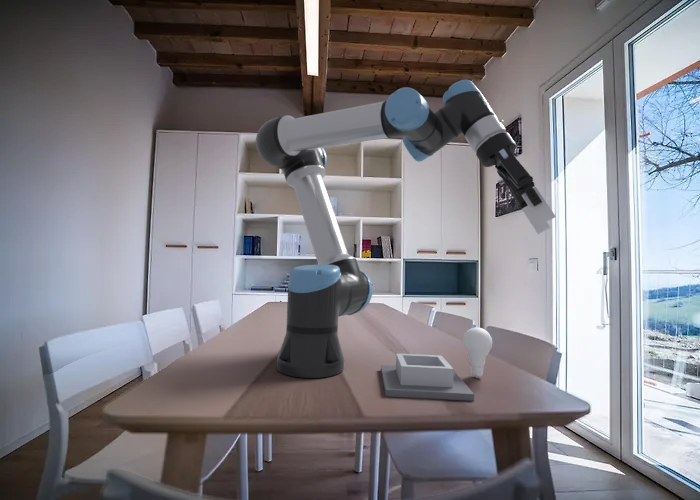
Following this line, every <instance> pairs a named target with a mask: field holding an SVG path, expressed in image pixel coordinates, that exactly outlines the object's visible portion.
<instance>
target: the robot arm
mask: <svg viewBox="0 0 700 500" xmlns="http://www.w3.org/2000/svg"><path fill="white" fill-rule="evenodd" d="M442 103H443V106H441V108H439V109H438V110H436V111H435V112H434V111H433V109H432V108H431V106H430V105H429V103H428V102H427V100H426V99H425V98H424V96H423V95H421V93H419V92H418V91H417V90H416V89H414V88H411V87H407V86H406V87H405V86H404V87H401V88H399V89H397V90H395V91H394V92H393V93H391V94H390V95H389V96H388V98H387V99H386V100H384V101H379V102H374V103H368V104H363V105H357V106H353V107H348V108H341V109H337V110H332V111H326V112H322V113H317V114H316V113H315V114H311V115H307V116H302V117H294V116H292V115H289V114H288V115H283V116H277V117H274V118H272V119H269V120H267V121H266V122H265V123H263V124H262V125H261V127H259V129H258V130H257V134H256V137H255V146H256V150H257V153H258V155H259V156H260V158H261V159H262V160H263V161H264V162H265V163H266V164H267V165H269V166H272V167H275V168H277V169H279V170H282V172H283V176H284V178H285V182H286V184H287V185H288V187H291V188H293V189H294V192H295V195H296V200H297V202H298V205H299V207H300V211H301V215H302V217H303V220H304V224H305V226H306V230H307V233H308V237H309V240H310V243H311V245H312V248H313V252H314V255H315V259H316V262H317V264H305V265H298V266H296V267H293V268H292V269H291V270H290V272H289V275H288V277H289V278H288V282H287V307H286V308H287V309H286V331H285V336H284V339H283V341H282V343H281V346H280V350H279V352H278V355H277V358H276V369H277V371H278V372H279V373H281V374H284V375H286V376H290V377H295V378H304V379H305V378H306V379H314V378H315V379H317V378H318V379H319V378H326V377H332V376H333V377H334V376H336V375H338V374H341V373H343V371H344V368H345V358H344V354H343V350H342V347H341V346H342V345H341V343H340V339H339V334H338V332H339V331H338V327H339V317H344V316H352V315H355V314H357V313H359V312H361V311H363V310H364V309H365V308H367V306H368V305H369V304H370V302H371V299H372V297H373V292H374V290H373V283H372V280H371V279H370V277H369V275H367V273H365V272H363V271H362V270H360V266H359V264H358V261H357V258H356V257H355V256H352V255H351V254H350V253H349V251H348V250H347V246H346V243H345V241H344V237H343V235H342V231H341V228H340V226H339V222H338V220H337V217H336V213H335V210H334V207H333V206H332V205H333V204H332V202H331V198H330V197H329V194H328V191H327V188H326V184H325V182H324V178H325V176H326V165H327V162H328V157H327V153H326V150H325V148H328V147H333V146H335V147H336V146H341V145H347V144H348V145H349V144H356V143H363V142H370V141H371V142H372V141H376V140H384V139H391V138H392V139H393V138H400V137H402V143H403V145H404V147H405V149H406V150H407V152H408V153H409V154H410V156H411V157H412V158H413V159H414V161H416V162H420V163H421V162H423V161H424V160H426V159H427V158H430V157H432V156H434V154H435V153H437V152H439V150H441V149H442V148H444V147H445V146H446V145H448V144H450V143H451V142H452V141H453V140H456V139H457V138H459V136H461V135H463V137H464V138H465V140H466V141H467V143H468V145H469V146H470V149H471V150H472V152H473V153H475V156H476V157H477V158H478V160H479V162H480V164H481V165H482V166H483V167H485V168H491V167H493V166H496V168H495V169H496V172H497V175H498V176H499V177H500V178H501V179H502V181H503V182H504V184H505V186H506V187H507V188H508V190H509V191H510V193H511V195H512V197H513V198H514V200H515V202H516V204H517V205H518V207H519V208H520V209H521V211H522V212H523V213H524V215H525V216H526V218H527V220H528V221H529V223H530V224H531V225H532V227H533V229H534V230H535V232H536V233H537V235H540V234H541V233H543V232H545V231H547V230H549V229H551V226H550V224H549V221H551V220H553V219H555V218H556V214H555V213H554V211H553V210H552V209H551V207H550V206H549V204H548V203H547V201H546V200H545V198H544V196H543V195H542V194H541V192H540V191H539V189H538V188H537V186H535V185H536V184H535V182H534V177H533V176H532V175H531V174H529V172H528V171H527V170H526V168H525V167H524V166H523V165H522V164H521V163H520V161H519V160H518V158H516V157H515V155H514V154H513V153H514V152H515V151H516V148H517V144H516V142H515V141H514V139H513V138H512V136H511V135H510V133H509V132H507V131H506V130H507V129H506V128H505V126H504V125H503V124H504V123H505V122H504V120H503V118H500V119H499V118H498V117H497V115H496V113H495V112H494V110H493V109H492V107H491V106H490V104H489V102H488V101H487V99H486V98H485V97H484V95H483V94H482V91H480V90H479V89H478V87H477V86H476V85H475V84H474V82H473V81H471V80H469V79H461V80H459V81H457V82H454V83H452V84H451V86H449V87H448V90H446V91H445V92H444V94H443V96H442Z"/></svg>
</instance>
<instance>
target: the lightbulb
mask: <svg viewBox="0 0 700 500" xmlns="http://www.w3.org/2000/svg"><path fill="white" fill-rule="evenodd" d="M462 343H463V347H464V348H465V350H466V353H467V356H468V359H469V361H468V362H469V366H470V375H471V376H473V378H476V379H479V378H480V377H482V376H483V375H484V367H485V365H486V364H485V363H486V359H487V356H488V354H489V353H490V351H491V349H492V347H493V338H492V336H491V335H490V333H489V332H488V331H487V330H486V329H484V328H482V327H472V328H471V327H470V329H468V330H467V331H466V332H465V333H464V335H463V338H462Z"/></svg>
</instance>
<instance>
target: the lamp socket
mask: <svg viewBox="0 0 700 500" xmlns="http://www.w3.org/2000/svg"><path fill="white" fill-rule="evenodd" d="M380 373H381V378H382V384H383V388H384V393H385V397H391V398H392V397H395V398H413V399H414V398H415V399H432V400H433V399H434V400H451V401H453V400H454V401H470V402H472V401H473V402H474V401H475V393H474V392H473V391H472V390H471V389H470V387H469V386H468V385H467V384H466V383H465V382H464V381H463V379H462V378H461V377H460V376H459V375H458V374H457V373H456V372H455V371H454V368H453V366H451V364H450V363H449V362H448V361H447V360H446V358H444V357H443V355H437V354H436V355H435V354H415V353H413V354H412V353H396V354H395V365H388V364H381V365H380Z"/></svg>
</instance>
